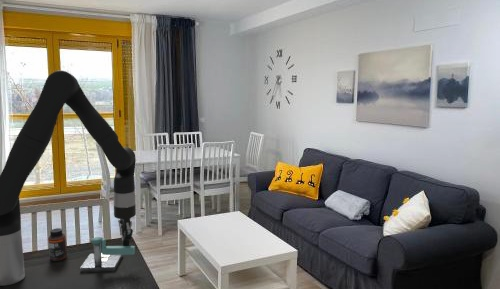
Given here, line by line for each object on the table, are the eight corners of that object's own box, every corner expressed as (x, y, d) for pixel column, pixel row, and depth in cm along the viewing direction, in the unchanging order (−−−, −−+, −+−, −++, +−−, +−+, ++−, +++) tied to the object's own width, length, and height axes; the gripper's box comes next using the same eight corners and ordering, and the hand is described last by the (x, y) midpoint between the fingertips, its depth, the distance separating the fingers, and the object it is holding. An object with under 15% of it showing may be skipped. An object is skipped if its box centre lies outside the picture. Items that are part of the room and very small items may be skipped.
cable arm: (94, 251, 144) (93, 237, 143) (135, 251, 145) (135, 236, 144) (90, 256, 140) (89, 241, 139) (132, 256, 141) (132, 241, 140)
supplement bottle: (62, 253, 156) (60, 225, 154) (69, 257, 152) (68, 229, 151) (46, 258, 152) (44, 230, 150) (54, 263, 148) (52, 234, 146)
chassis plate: (79, 272, 141) (78, 245, 140) (90, 257, 153) (89, 232, 151) (114, 271, 142) (113, 244, 141) (122, 256, 154) (121, 231, 152)
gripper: (110, 199, 146) (111, 244, 149) (117, 210, 135) (119, 258, 138) (131, 197, 150) (132, 240, 153) (139, 207, 139) (140, 254, 141)
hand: (125, 248), depth 145 cm, fingers closed
